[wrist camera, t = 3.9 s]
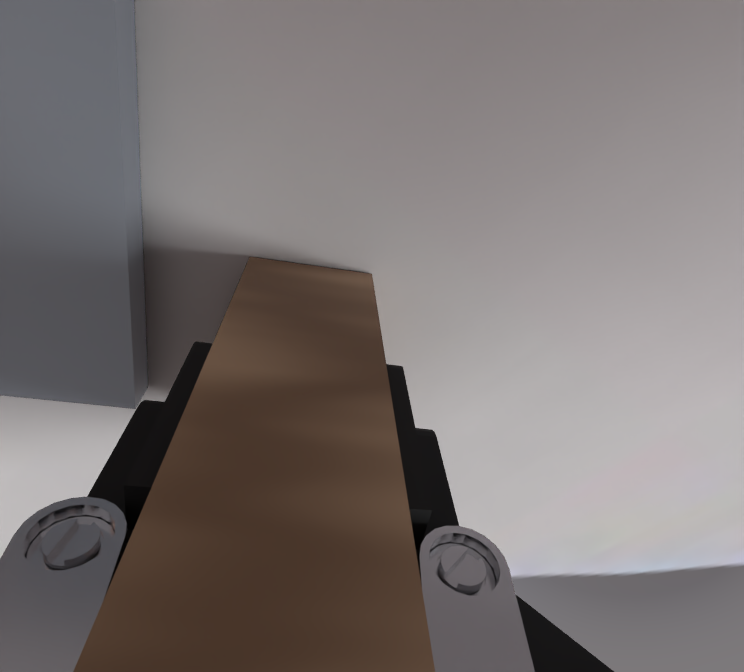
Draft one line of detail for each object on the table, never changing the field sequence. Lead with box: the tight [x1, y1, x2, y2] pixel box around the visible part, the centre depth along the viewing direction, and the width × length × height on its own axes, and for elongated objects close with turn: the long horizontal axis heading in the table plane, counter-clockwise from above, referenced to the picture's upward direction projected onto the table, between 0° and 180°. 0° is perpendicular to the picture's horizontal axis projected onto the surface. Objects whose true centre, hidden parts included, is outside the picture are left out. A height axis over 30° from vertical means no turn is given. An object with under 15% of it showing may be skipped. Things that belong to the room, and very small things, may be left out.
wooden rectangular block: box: [73, 257, 435, 672], centre depth 9 cm, size 3×4×10 cm, turn 170°
